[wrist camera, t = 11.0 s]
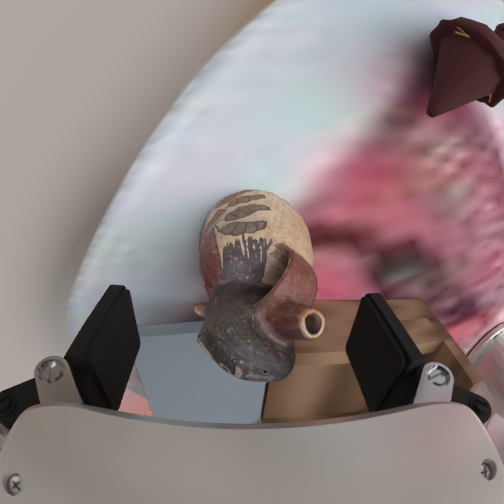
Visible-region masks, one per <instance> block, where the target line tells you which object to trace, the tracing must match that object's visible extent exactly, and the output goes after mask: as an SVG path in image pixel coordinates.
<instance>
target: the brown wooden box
mask: <svg viewBox="0 0 504 504" xmlns="http://www.w3.org/2000/svg"><path fill="white" fill-rule="evenodd" d="M360 301H361V300H314V302H313V305H312V307H314V308H316V309H318V310H319V311H320V312H321V314H322V315H323V317H324V318H325V327H324V329H323V332H322V334H321V335H320V336H319V337H318V338H317V339H316V340H296V339H294V343H295V354H296V358H295V364H294V367H293V369H292V372H291V373H290V374H289V375H288V376H287V377H286V378H285V379H283V380H281V381H276V382H266V385H265V391H264V397H263V403H262V409H261V417H262V424H264V423H289V422H303V421H314V420H324V419H332V418H340V417H347V416H353V415H359V414H365V413H370V412H369V410H368V407H367V405H366V402H365V399H364V397H363V394H362V392H361V389H360V386H359V384H358V381H357V379H356V376H355V374H354V371H353V369H352V366H351V364H350V361H349V359H348V356H347V354H346V343H347V340H348V337H349V335H350V332H351V329H352V326H353V323H354V320H355V317H356V314H357V311H358V307H359V304H360ZM385 301H386V302H387V304H388V305H389V306H390V308H391V309H392V311H393V312H394V313H395V315H396V316H397V318H398V319H399V321H400V322H401V324H402V325H403V326H404V328H405V329H406V331H407V332H408V334H409V335H410V337H411V338H412V340H413V341H414V343H415V344H416V346H417V347H418V349H419V351H420V352H421V354H422V355H423V357H424V358H425V359H424V361H423V362H424V364H425V365H426V364H427V363H430V362H437V363H441V364H443V365H445V366H446V367H447V368H449V370H450V371H451V372H452V374H453V377H454V383H453V384H455V385H457V386H459V387H462V388H464V389H466V390H468V391H471V392H473V393H475V392H476V390H477V389H478V388H479V386H480V385H481V384H482V382H483V379H482V378H481V376H480V375H479V373H478V372H477V371H476V369H475V368H474V366H473V365H472V363H471V362H470V361H469V359H468V358H467V356H466V355H465V354H464V352H463V351H462V350H461V348H460V347H459V346H458V344H457V343H456V342H455V340H454V339H453V338H452V336H451V335H450V334H449V332H448V331H447V330H446V329H445V327H444V326H443V325H442V324H441V322H440V321H439V320H438V319H437V317H436V316H435V315H434V314H433V312H432V311H431V310H430V309H429V308H428V306H427V305H426V304H425V303H424V302H423V300H422V299H400V300H385Z"/></svg>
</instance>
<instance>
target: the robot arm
mask: <svg viewBox="0 0 504 504" xmlns="http://www.w3.org/2000/svg"><path fill="white" fill-rule="evenodd" d="M139 349H140V337H139V332H138V328H137V324H136V319H135V315H134V310H133V305H132V300H131V295H130V291H129V290H127V289H126V288H125V286H123V285H110V286H109V288H108V289H107V290H106V292H105V293H104V295H103V296H102V298H101V299H100V301H99V302H98V304H97V305H96V307H95V308H94V310H93V311H92V313H91V314H90V316H89V317H88V319H87V320H86V322H85V323H84V325H83V326H82V328H81V330H80V331H79V333H78V334H77V336H76V338H75V339H74V341H73V343H72V344H71V346H70V348H69V350H68V351H67V353H66V355H65V356H64V358H62V357H59V356H50V357H47V358H45V359H43V360H42V361H41V362H39V363H38V365H37V366H36V368H35V372H34V373H35V374H34V376H35V378H33V379H31V380H28V381H26V382H23V383H21V384H18V385H16V386H13V387H11V388H8V389H6V390H3V391H1V392H0V504H504V323H502V324H500V325H499V326H497V327H496V328H494V329H493V330H492V331H491V332H489V333H488V334H487V335H486V336H485V337H484V338H483V339H482V340H481V341H480V342H479V343H478V344H477V345H476V346H475V348H474V349H473V350H472V351H471V352H470V354H469V355H468V356H467V358H468V359H469V361H470V362H471V363H472V365H473V366H474V368H475V369H476V371H477V372H478V373H479V375H480V376H481V378H482V379H483V382H482V384H481V385H480V386H479V388H478V389H477V390H476V392H475V393H473V392H471V391H468V390H466V389H464V388H462V387H459V386H457V385H455V384H453V383H454V377H453V374H452V372H451V371H450V370H449V368H447V367H446V366H445V365H443V364H441V363H437V362H430V363H427V364H426V365H425V364H424V362H423V361H424V359H425V358H424V357H423V355H422V354H421V352H420V351H419V349H418V347H417V346H416V344H415V343H414V341H413V340H412V338H411V337H410V335H409V334H408V332H407V331H406V329H405V328H404V326H403V325H402V324H401V322H400V321H399V319H398V318H397V316H396V315H395V313H394V312H393V311H392V309H391V308H390V306H389V305H388V304H387V302H386V301H385V299H384V298H383V297H382V295H381V294H380V293H368V294H366V295H365V297H362V299H361V301H360V304H359V307H358V311H357V314H356V317H355V320H354V323H353V326H352V329H351V332H350V335H349V337H348V340H347V343H346V354H347V356H348V359H349V361H350V364H351V366H352V369H353V371H354V374H355V376H356V379H357V381H358V384H359V386H360V389H361V392H362V394H363V397H364V399H365V402H366V405H367V407H368V410H369V412H370V413H365V414H359V415H353V416H347V417H340V418H332V419H324V420H314V421H303V422H289V423H264V424H233V423H209V422H195V421H183V420H174V419H166V418H158V417H151V416H145V415H138V414H132V413H126V412H121V411H117V410H118V409H119V407H120V404H121V400H122V398H123V395H124V392H125V389H126V386H127V383H128V380H129V377H130V374H131V371H132V368H133V366H134V363H135V360H136V357H137V354H138V352H139Z"/></svg>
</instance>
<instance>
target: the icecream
mask: <svg viewBox="0 0 504 504" xmlns="http://www.w3.org/2000/svg"><path fill="white" fill-rule="evenodd" d="M429 37H430V41H431V44H432V47H433V51H434V56H435V61H436V63H437V68H436V73H435V78H434V83H433V87H432V91H431V95H430V99H429V103H428V107H427V114H428V115H429V116H430V117H436V116H438V115H441V114H443V113H446V112H448V111H450V110H453V109H455V108H457V107H460V106H462V105H464V104H467V103H469V102H472V101H474V100H477V101H479V102H484V103H486V104H487V105H488V106H490V107H494V106H496V105H497V104H498V103H499V102H500V101H501V100H502V99H504V23H502V24H499V25H497V26H496V29H495V31H494V32H493V31H492V30H491V29H490V28H489V27H488V26H487V25H486V24H483V23H480V22H477V21H474V20H471V19H467V18H463V17H459V18H457V19H454V20H441V21H440V23H439V24H438V26H437V27H436V28H435V29H434V30H433V31H432V32H431V33H430V36H429Z"/></svg>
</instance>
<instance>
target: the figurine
mask: <svg viewBox="0 0 504 504" xmlns="http://www.w3.org/2000/svg"><path fill="white" fill-rule="evenodd" d="M199 249H200V272H201V277H202V281H203V283H204V286H205V288H206V291H207V293H208V295H209V302H208V303H207V304H195V305H194V311H195V313H196V314H198V315H199V316H201V317H203V318H204V322H203V326H202V328H201V330H200V332H199V334H198V336H197V342H198V343H199V345H200V346H201V348H202V349H203V350H204V351H205V352H206V354H207V355H208V356H209V357H210V358H211V359H212V360H213V361H214V362H215V363H216V364H217V365H218V366H219V367H220V368H221V369H223V370H224V371H225V372H227V373H228V374H230V375H232V376H234V377H236V378H239V379H242V380H246V381H250V382H254V383H265V382H276V381H281V380H283V379H285V378H286V377H287V376H288V375H289V374H290V373H291V372H292V369H293V367H294V364H295V358H296V354H295V343H294V339H296V340H316V339H317V338H318V337H319V336H320V335H321V334H322V332H323V329H324V327H325V318H324V317H323V315H322V314H321V312H320V311H319V310H318V309H316V308H314V307H312V305H313V302H314V300H315V297H316V294H317V290H318V285H317V277H316V274H315V272H314V270H313V261H314V255H313V251H312V245H311V240H310V236H309V232H308V228H307V226H306V225H305V223H304V221H303V219H302V217H301V215H300V214H299V213H298V212H297V211H296V210H295V209H294V208H293V207H292V206H291V205H290V204H289V203H288V202H287V201H285V200H284V199H282V198H280V197H279V196H277V195H275V194H273V193H270V192H265V191H261V190H244V191H241V192H238V193H235V194H232V195H230V196H228V197H226V198H225V199H223V200H221V201H220V202H219V203H218V204H217V205H216V206H215V207H214V208H212V210H211V211H210V213H209V214H208V216H207V218H206V220H205V222H204V224H203V227H202V230H201V234H200V241H199Z"/></svg>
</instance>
